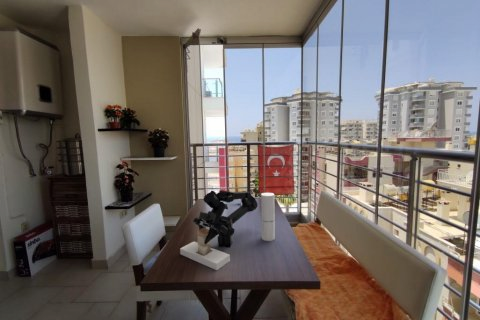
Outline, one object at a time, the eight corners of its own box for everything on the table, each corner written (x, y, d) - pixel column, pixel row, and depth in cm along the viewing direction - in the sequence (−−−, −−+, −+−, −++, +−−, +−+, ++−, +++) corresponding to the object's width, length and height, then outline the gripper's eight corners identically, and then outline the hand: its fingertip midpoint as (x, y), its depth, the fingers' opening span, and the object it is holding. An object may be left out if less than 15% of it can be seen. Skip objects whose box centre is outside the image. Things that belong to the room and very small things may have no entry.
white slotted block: (194, 246, 121) (194, 241, 121) (230, 260, 107) (229, 254, 106) (180, 254, 114) (180, 248, 113) (216, 270, 100) (216, 263, 99)
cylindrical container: (273, 235, 132) (273, 192, 130) (275, 240, 125) (275, 195, 122) (261, 235, 132) (260, 192, 129) (262, 241, 125) (262, 196, 122)
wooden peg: (204, 251, 113) (203, 227, 112) (210, 253, 111) (209, 229, 109) (198, 255, 110) (197, 230, 108) (204, 257, 107) (203, 232, 106)
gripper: (194, 201, 116) (178, 230, 109) (223, 208, 105) (206, 240, 98) (206, 212, 123) (191, 240, 116) (234, 219, 112) (219, 250, 105)
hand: (201, 242), depth 108 cm, fingers closed on wooden peg, 4 cm apart
